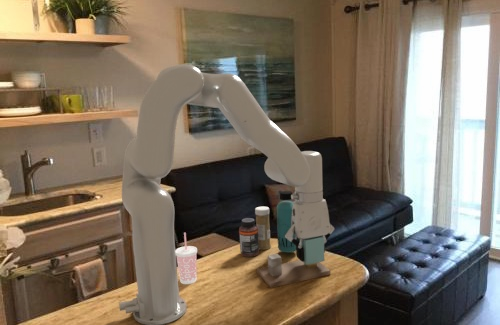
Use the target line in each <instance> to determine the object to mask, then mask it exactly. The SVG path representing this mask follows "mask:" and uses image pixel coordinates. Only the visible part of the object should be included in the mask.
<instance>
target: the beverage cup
mask: <svg viewBox="0 0 500 325" xmlns="http://www.w3.org/2000/svg"><path fill="white" fill-rule="evenodd" d="M183 235H184V236H183V239H184V246H181V247H178V248H175V253H176V264H177V271H178V275H179V282H180V283H181V284H183V285H191V284H194V283H196V282H197V278H198V276H197V275H198V273H197V272H198V270H197V269H198V267H197V253H198V248H197V247H196V246H193V245H187V243H188V242H187V233H186V232H183Z"/></svg>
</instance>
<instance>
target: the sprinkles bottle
mask: <svg viewBox="0 0 500 325" xmlns="http://www.w3.org/2000/svg"><path fill="white" fill-rule="evenodd" d="M254 214H255V223H256V224H255V225H256V226H257V227H258V239H259V250H262V251H263V250H264V251H265V250H269V249H271V247H272V246H271V230H270V228H271V226H270V225H271V224H270V208H269V207H268V206H258V207H255V208H254Z"/></svg>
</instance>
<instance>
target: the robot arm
mask: <svg viewBox="0 0 500 325" xmlns="http://www.w3.org/2000/svg"><path fill="white" fill-rule="evenodd" d="M186 105H193V106H200V107H208V108H209V107H211V108H218V109H219V111H221V113H222V115H224V117H225V119H227V121H228V123H230V125H231V126H232V128H233V129H234V130H235V131H236V133H237V134H238V136H239V137H240V138H241V140H243V141H244V142H245V143H247V144H248V145H250V146H251V147H253V148H255V149H256V150H258V151H259V152H261V153H262V154H263V155H265V156H266V157H267V159H266V161H265V162H264V166H263V167H264V172H265V173H264V174H266V175H267V177H268V178H270V180H272V181H275V182H277V183H282V184H284V185H287V186H290V187H292V188H294V193H293V195H291V200H293V202H294V203H293V208H292V218H291V228H290V229H289V231H288V232H287V233H286V235H285V238H286V239H288V240H289V241H291V242H292V243H293V244H294V245H296V251H295V253H296V255H295V256H296V258H297V259H298V260H301V261H302V262H303V261H304V248H303V247H302V246H303V242H304V240H303V239H308V238H314V237H319V236H323V237H324V254H325V253H326V243H327V242H328V241H327V240H328V239H329V238H330V237H331V235H332V233H333V232H334V231H335V227H334V226H333V225H332V224H331V223H330V214H329V209H328V204H327V201H326V198H325V199H324V198H323V195H324V192H323V190H324V189H323V187H324V186H323V157H322V154H321V153H320V152H318V151H313V150H304V151H301V150H300V148H299V147H298V146H297V144H296V143H295V142H294V141H293V140H292V138H290V136H288V135H287V134H286V132H284V131H283V130H282V129H281V128H280V127H279V126H278V125H277V124H275V123H274V122H273V121H272V120H271V119H270V118H269V116H268V115H267V114H266V113H265V111H264V109H263V108H262V107H261V106H260V104H259V102H258V101H257V99H256V98H255V97H254V95H253V94H252V93H251V91H250V90H249V88H248V87H247V85H246V83H244V81H243V80H242V79H241V78H240V77H239V76H238V75H236V74H234V73H216V74H215V73H208V72H202V71H201V69H200V68H198V67H196V66H194V65H193V64H189V63H188V64H187V63H183V64H182V63H181V64H176V65H171V66H168V67H165V68H163V69H162V70H161V71H159V73H158V75H157V77H156V79H155V80H154V81H153V82H152V83H151V85H150V86H149V87H148V89H147V90H146V92H145V94H144V95H143V98H142V100H141V103H140V107H139V113H138V121H137V127H136V136H135V137H134V138H133V137H132V139H131V140H130V141H129V143H128V144H127V146H126V148H125V151H124V156H123V167H122V179H121V180H122V182H121V200H122V204H123V207H124V208H125V209H126V211H127V212H128V213H129V215H130V216H131V223H132V226H131V228H132V249H133V255H134V265H135V266H134V267H135V274H136V275H135V276H136V286H137V287H136V288H137V293H135V294H136V297H135V298H132V300H127V301H125V300H124V301H121V302H119V303H118V304H119V306H118V307H119V311H120V312H121V311H125V314H126V315H127V314H131V313H132V314H133V318H134V320H135V321H136V322H138V323H139V324H142V325H165V324H169V323H172V322H174V321H176V320H178V319H180V318H181V317H182V316H184V314H186V311H187V306H188V305H187V302H186V300H185V299H184V298H183V297H181V296H180V292H179V291H180V290H179V288H180V287H179V280H178V279H179V278H178V264H177V256H176V253H175V250H176V243H175V206H174V205H175V204H174V201H173V198H172V196H171V195H170V193H169V192H168V191H167V190H166V189H165V188H164V187H162V186H161V181H162V180H161V179H162V178H163V179H164V178H165V177H167V175H168V174H169V173H170V172H171V170H172V168H173V165H174V159H175V158H174V157H175V156H174V155H175V139H176V130H177V124H178V119H179V115H180V112H181V111H182V109H183V108H184V107H185V106H186ZM293 234H294V235H296V238H295V239H294V238H293V237H292V235H293Z"/></svg>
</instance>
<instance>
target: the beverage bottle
mask: <svg viewBox="0 0 500 325" xmlns="http://www.w3.org/2000/svg"><path fill="white" fill-rule="evenodd" d="M293 194H294V193H293V191H291V190H282V191H280V192H279V199H280V200H281V201H280V202H279V203H278V204H277V205H276V226H277V235H276V236H277V241H276V242H277V248H278V250H279V251H280V252H283V253H294V252H296V245H294V244H293V243H292V242H291V241H289V240H288V239H286V238H285V235H286V233H287V232H288V231H289V229H290V228H291V218H292V208H293V203H294V201H292V199H291V195H293ZM292 237H293V238H294V239H295V238H296V235H294V234H293V235H292Z"/></svg>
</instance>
